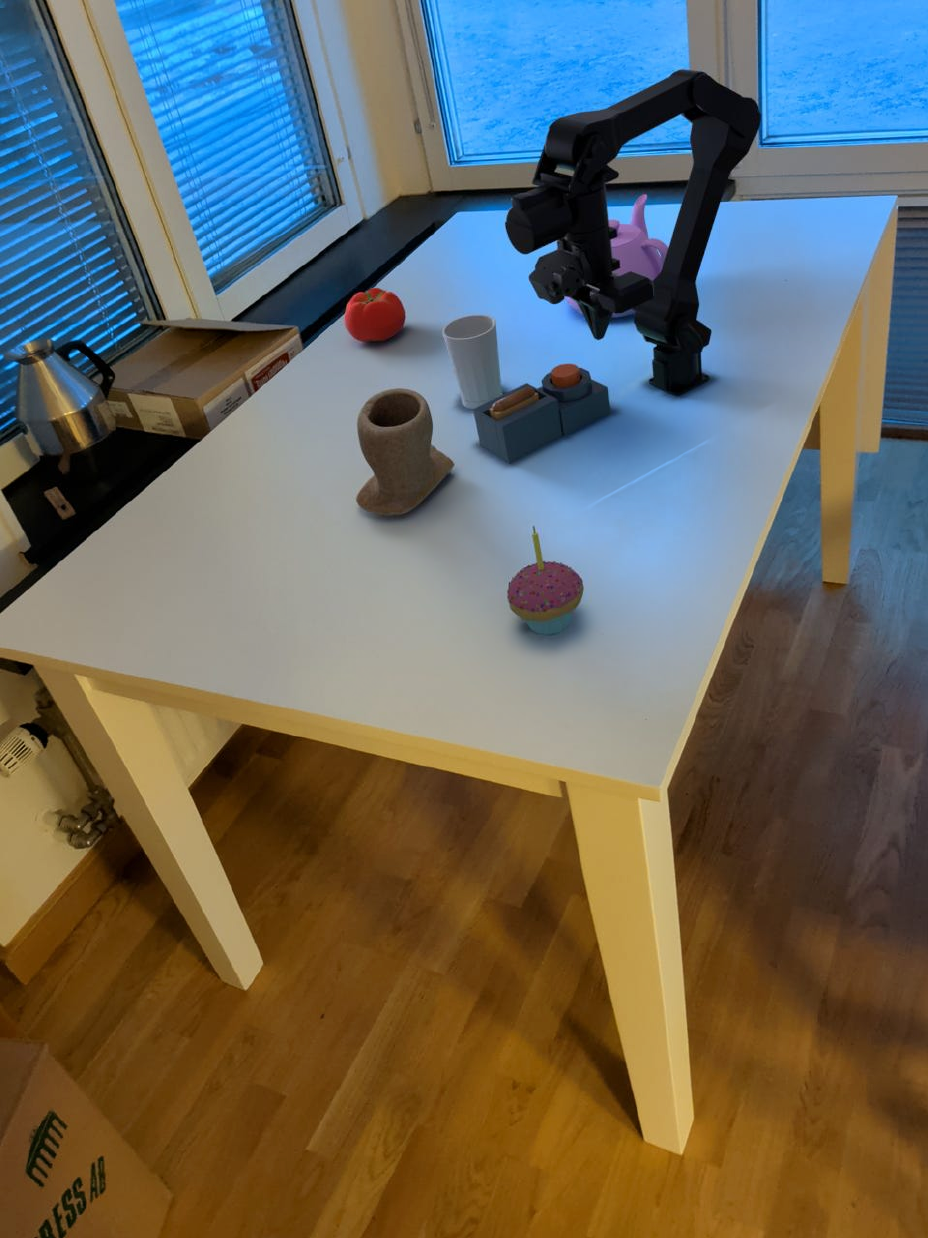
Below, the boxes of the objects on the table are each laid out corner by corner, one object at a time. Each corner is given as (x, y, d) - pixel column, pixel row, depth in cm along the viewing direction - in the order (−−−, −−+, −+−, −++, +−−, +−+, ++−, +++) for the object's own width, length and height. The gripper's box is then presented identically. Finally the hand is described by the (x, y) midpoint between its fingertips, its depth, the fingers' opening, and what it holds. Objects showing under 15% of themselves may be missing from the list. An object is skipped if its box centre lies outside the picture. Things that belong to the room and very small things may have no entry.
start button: (568, 371, 153) (567, 360, 152) (585, 379, 150) (584, 368, 149) (546, 382, 151) (545, 371, 150) (563, 391, 149) (562, 379, 148)
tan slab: (535, 422, 152) (528, 382, 148) (543, 427, 151) (537, 386, 147) (495, 442, 150) (488, 402, 146) (503, 447, 149) (496, 407, 145)
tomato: (397, 348, 182) (387, 307, 178) (340, 349, 186) (329, 310, 182) (418, 320, 190) (409, 280, 185) (363, 322, 194) (353, 283, 189)
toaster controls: (576, 395, 158) (572, 359, 155) (610, 412, 153) (606, 375, 149) (531, 418, 156) (526, 381, 152) (564, 436, 150) (559, 399, 146)
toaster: (532, 419, 155) (526, 382, 152) (562, 436, 150) (557, 398, 146) (480, 445, 152) (472, 409, 149) (509, 464, 147) (502, 426, 143)
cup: (503, 410, 159) (490, 336, 151) (452, 413, 161) (437, 341, 154) (512, 384, 165) (499, 312, 157) (462, 387, 167) (448, 316, 159)
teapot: (707, 273, 182) (704, 192, 174) (655, 331, 170) (649, 246, 161) (593, 266, 194) (585, 190, 185) (536, 320, 181) (524, 240, 172)
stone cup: (416, 530, 139) (390, 431, 129) (347, 513, 145) (318, 417, 136) (478, 469, 148) (459, 372, 138) (411, 455, 154) (388, 362, 144)
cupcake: (509, 605, 123) (492, 522, 116) (580, 591, 123) (568, 506, 115) (518, 653, 117) (501, 568, 109) (594, 638, 116) (582, 552, 109)
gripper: (493, 231, 138) (512, 341, 147) (577, 264, 124) (592, 383, 134) (563, 202, 141) (577, 311, 151) (652, 231, 128) (661, 349, 137)
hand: (599, 338), depth 143 cm, fingers closed
